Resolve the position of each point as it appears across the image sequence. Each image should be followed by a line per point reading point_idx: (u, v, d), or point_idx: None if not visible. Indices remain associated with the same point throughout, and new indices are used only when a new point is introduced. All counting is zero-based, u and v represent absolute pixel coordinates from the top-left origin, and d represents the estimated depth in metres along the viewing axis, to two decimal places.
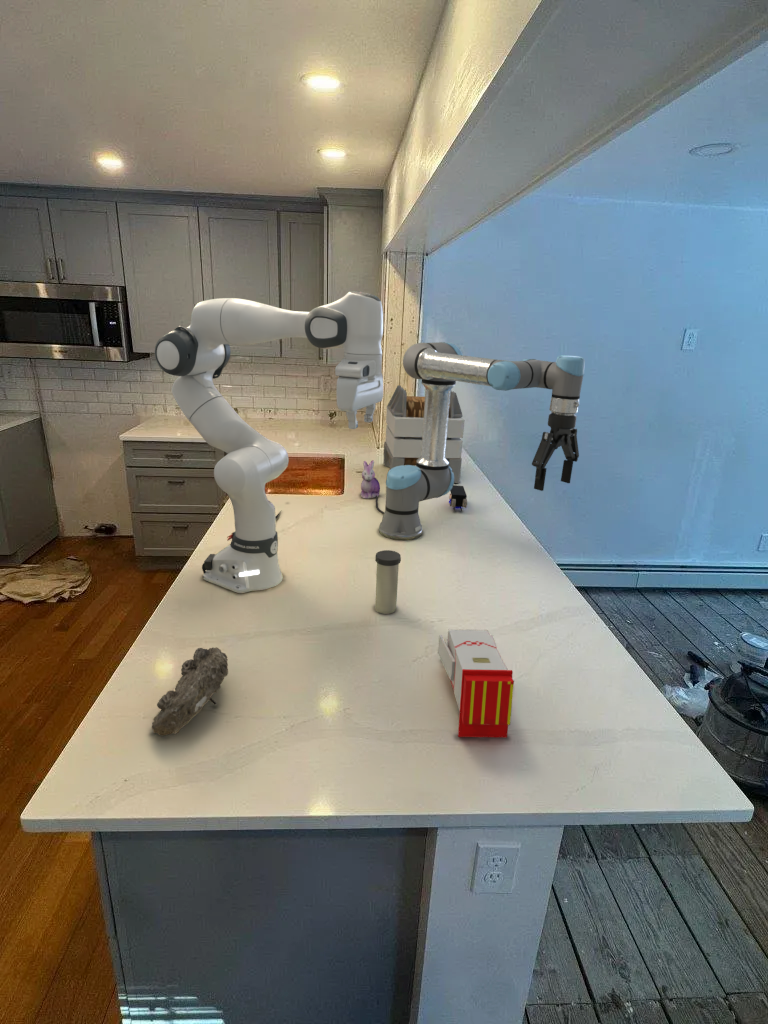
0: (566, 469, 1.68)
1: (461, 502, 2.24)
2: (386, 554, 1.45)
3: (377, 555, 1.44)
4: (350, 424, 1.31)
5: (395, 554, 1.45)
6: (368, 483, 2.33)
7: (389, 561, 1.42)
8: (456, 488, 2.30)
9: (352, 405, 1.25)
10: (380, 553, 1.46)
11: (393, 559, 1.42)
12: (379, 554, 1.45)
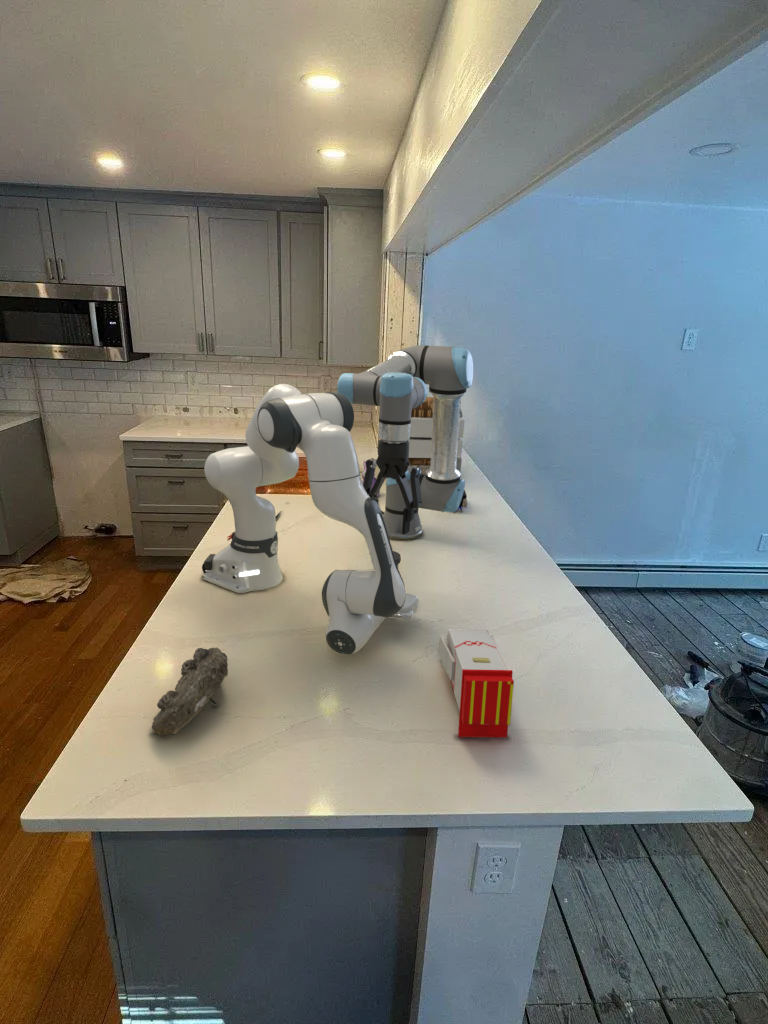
0: None
1: (461, 502, 2.24)
2: None
3: None
4: None
5: (395, 554, 1.45)
6: None
7: None
8: None
9: None
10: None
11: None
12: None
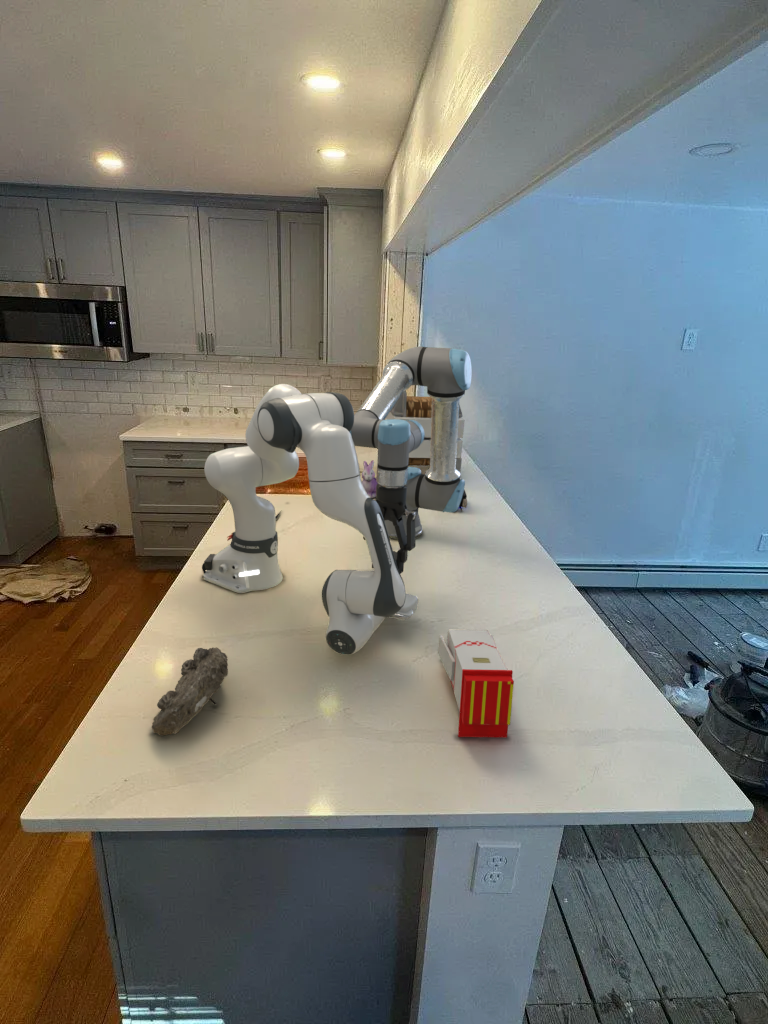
0: None
1: (461, 502, 2.24)
2: None
3: None
4: None
5: (395, 554, 1.45)
6: (368, 483, 2.33)
7: None
8: None
9: None
10: None
11: None
12: None
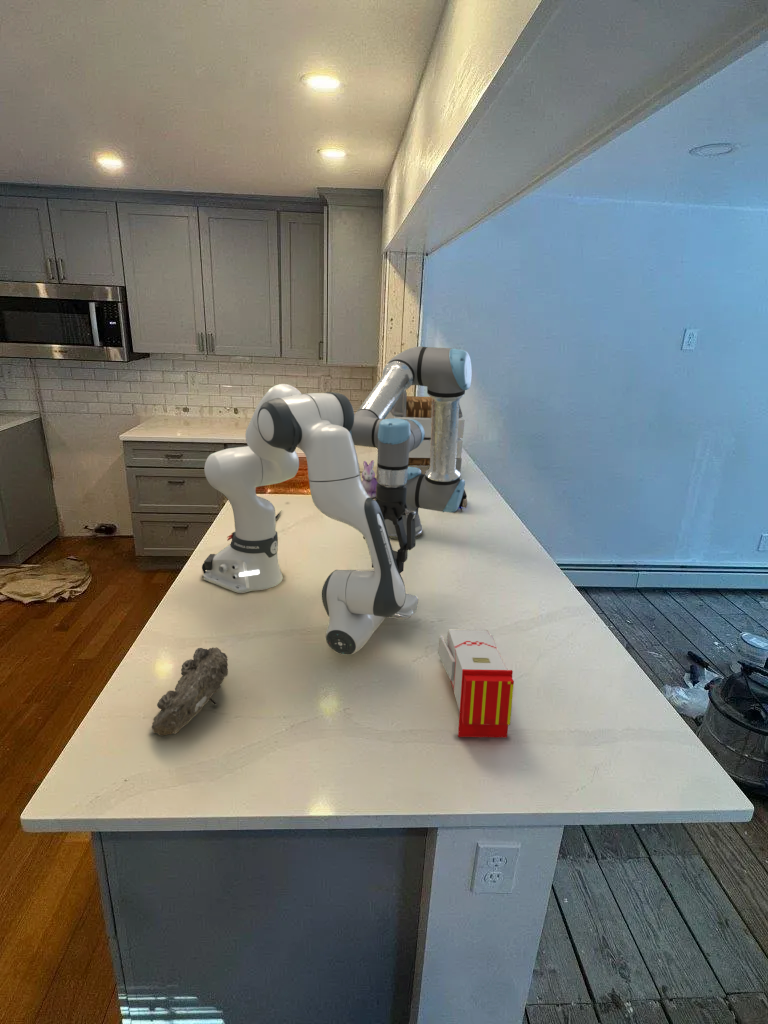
0: None
1: (461, 502, 2.24)
2: None
3: None
4: None
5: None
6: (368, 483, 2.33)
7: None
8: None
9: None
10: None
11: (394, 551, 1.47)
12: None
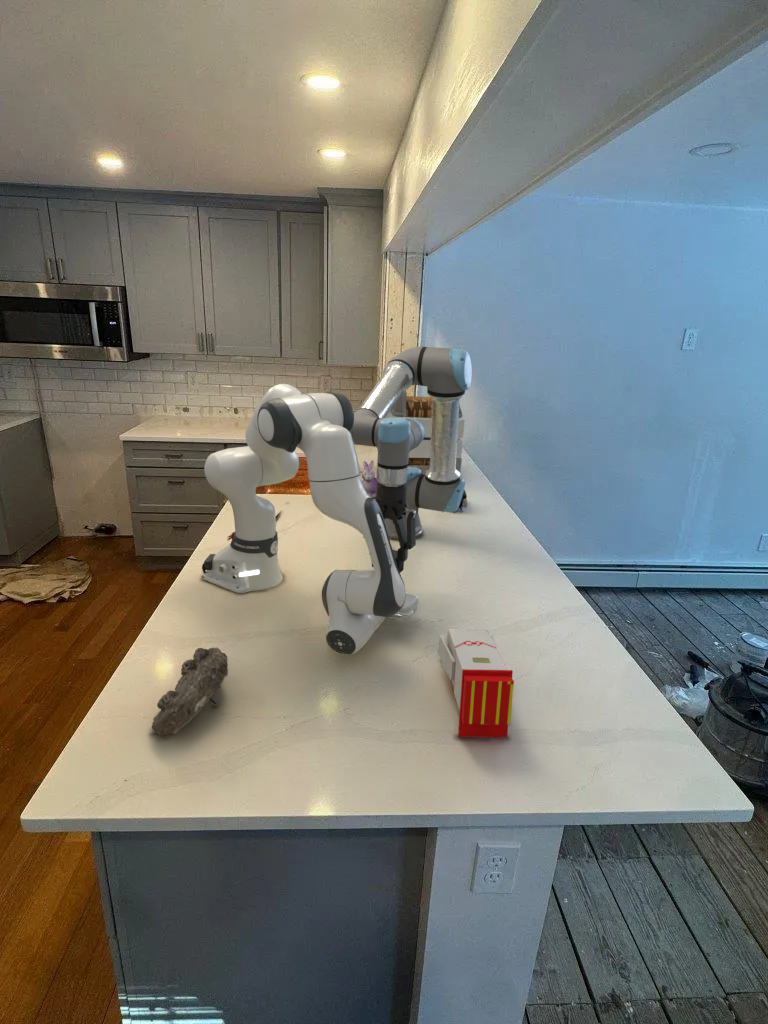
0: None
1: (461, 502, 2.24)
2: None
3: (394, 550, 1.47)
4: None
5: None
6: (368, 483, 2.33)
7: None
8: None
9: None
10: None
11: None
12: (395, 551, 1.46)
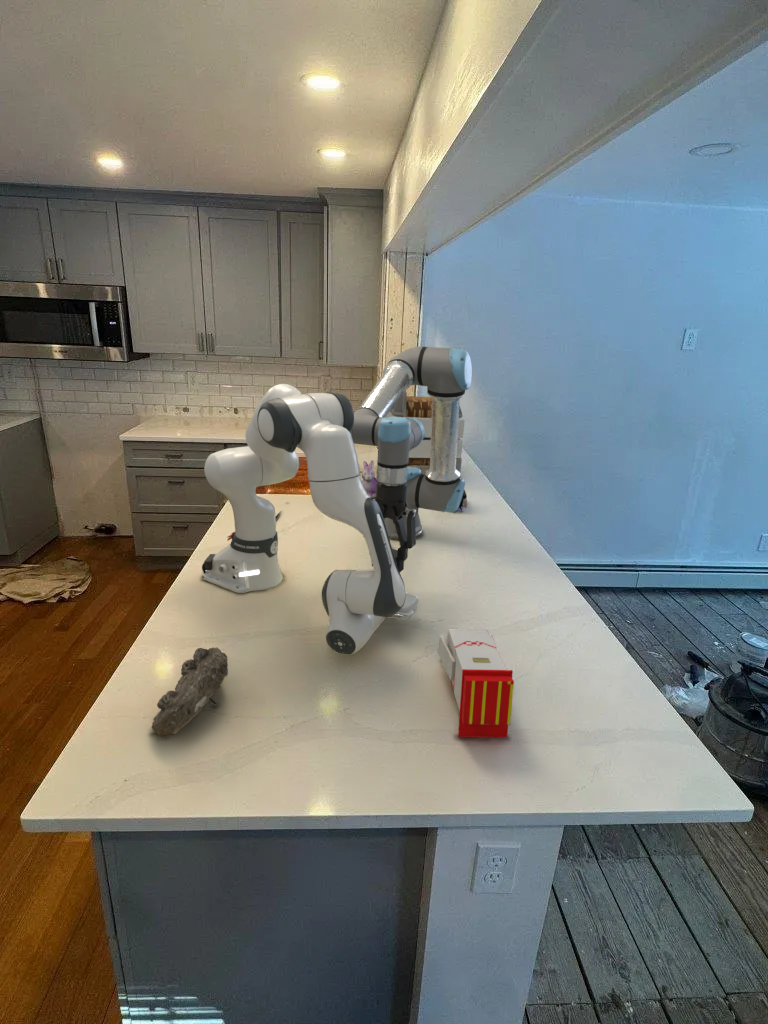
0: None
1: (461, 502, 2.24)
2: None
3: None
4: None
5: (396, 553, 1.44)
6: (368, 483, 2.33)
7: None
8: None
9: None
10: None
11: None
12: None
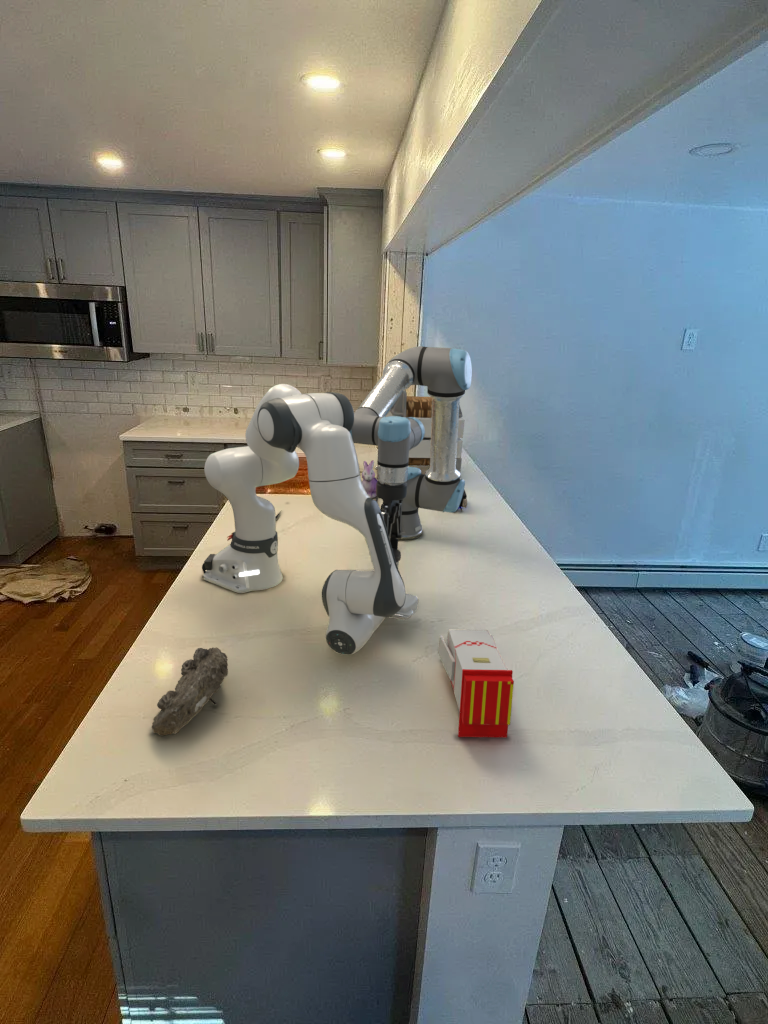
0: None
1: (461, 502, 2.24)
2: None
3: None
4: None
5: None
6: (368, 483, 2.33)
7: (400, 554, 1.44)
8: None
9: None
10: None
11: (398, 552, 1.45)
12: None
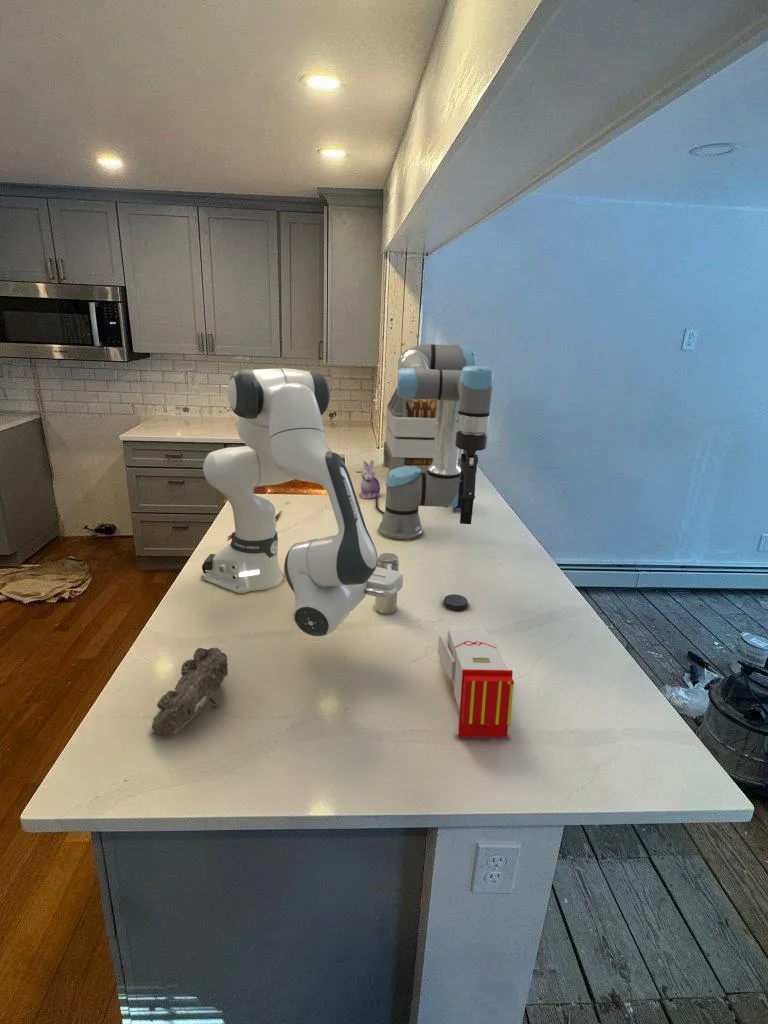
0: None
1: None
2: (454, 600, 1.52)
3: (458, 605, 1.50)
4: None
5: (452, 596, 1.55)
6: (368, 483, 2.33)
7: None
8: None
9: None
10: (452, 603, 1.51)
11: (464, 598, 1.54)
12: (455, 603, 1.51)
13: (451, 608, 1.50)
